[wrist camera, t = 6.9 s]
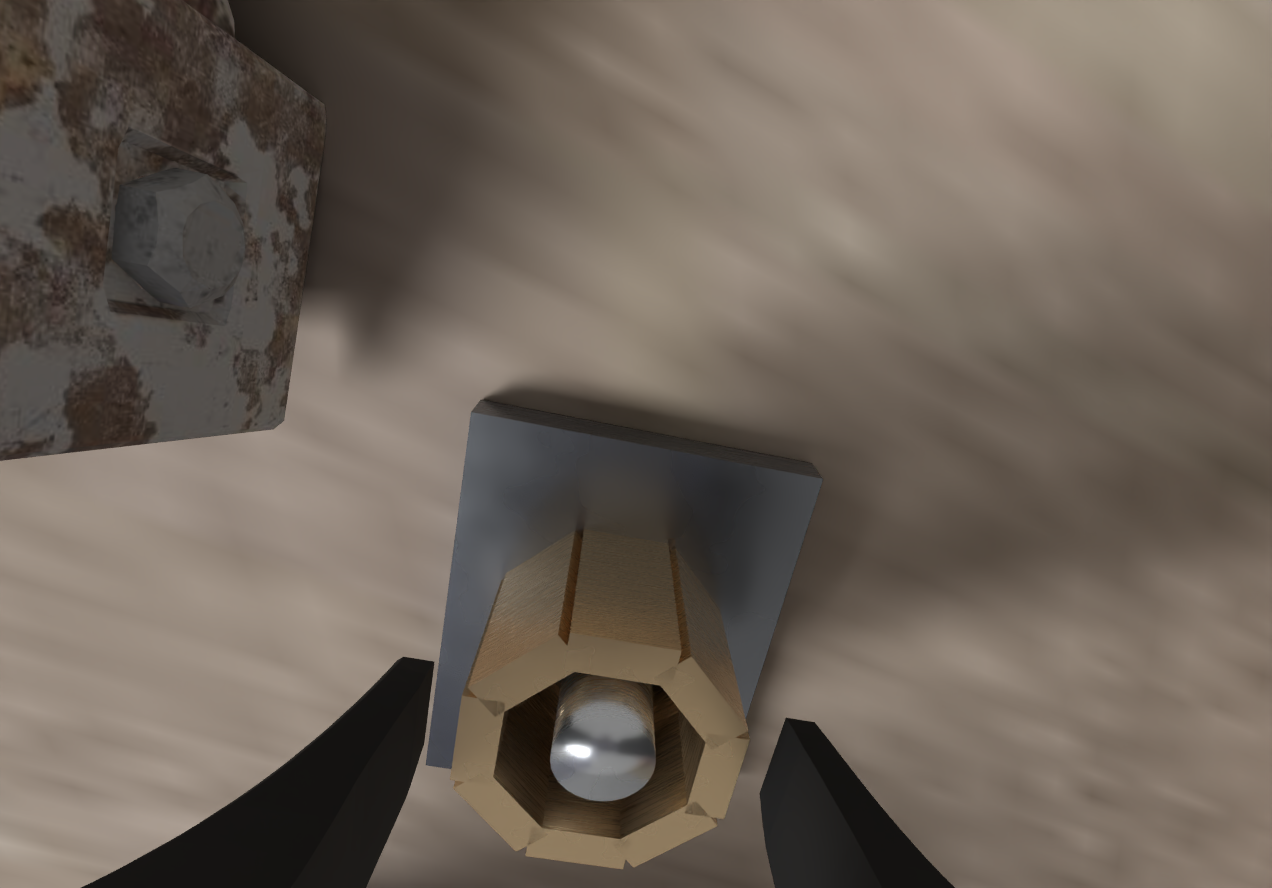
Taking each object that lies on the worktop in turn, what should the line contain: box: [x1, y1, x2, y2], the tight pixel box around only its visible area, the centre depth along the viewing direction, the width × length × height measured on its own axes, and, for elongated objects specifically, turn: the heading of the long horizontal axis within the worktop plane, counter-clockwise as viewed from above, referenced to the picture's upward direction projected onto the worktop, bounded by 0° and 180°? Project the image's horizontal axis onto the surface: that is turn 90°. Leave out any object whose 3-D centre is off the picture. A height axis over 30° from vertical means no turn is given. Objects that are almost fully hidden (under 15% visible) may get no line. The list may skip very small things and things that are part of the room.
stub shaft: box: [426, 400, 823, 801], centre depth 15 cm, size 10×8×5 cm
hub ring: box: [450, 529, 750, 869], centre depth 14 cm, size 5×5×4 cm
